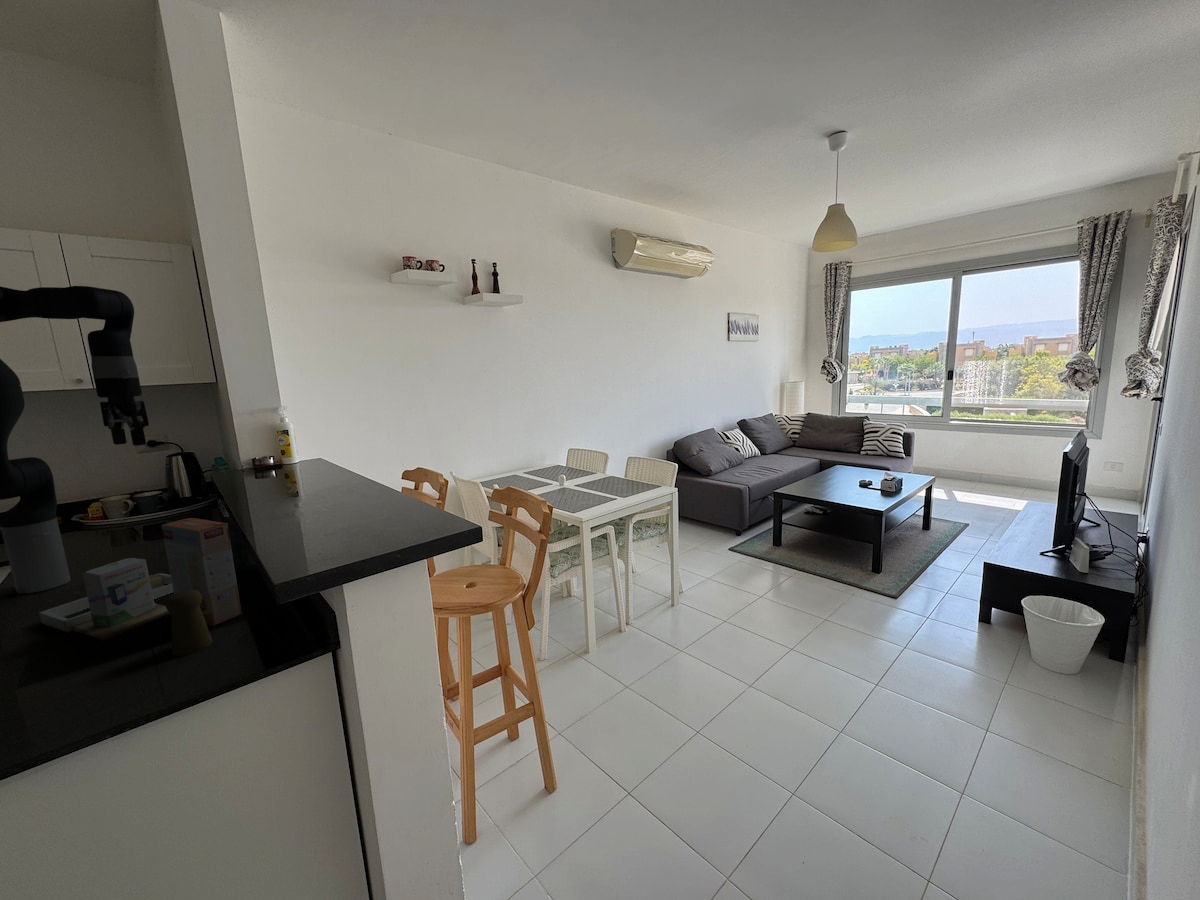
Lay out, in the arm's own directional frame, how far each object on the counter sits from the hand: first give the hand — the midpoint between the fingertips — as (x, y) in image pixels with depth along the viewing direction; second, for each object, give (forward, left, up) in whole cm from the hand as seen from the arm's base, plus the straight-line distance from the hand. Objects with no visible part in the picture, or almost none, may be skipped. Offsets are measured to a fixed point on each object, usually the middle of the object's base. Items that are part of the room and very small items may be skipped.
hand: (130, 444), depth 115 cm
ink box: (+16, -13, -35) cm, 41 cm away
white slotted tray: (+4, -9, -36) cm, 37 cm away
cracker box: (+31, -5, -36) cm, 48 cm away
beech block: (+4, -3, -36) cm, 37 cm away
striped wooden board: (+16, -13, -36) cm, 42 cm away
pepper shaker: (+42, -14, -36) cm, 57 cm away
